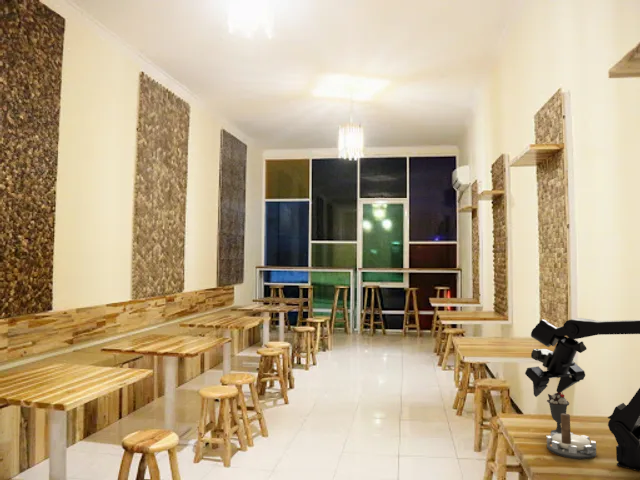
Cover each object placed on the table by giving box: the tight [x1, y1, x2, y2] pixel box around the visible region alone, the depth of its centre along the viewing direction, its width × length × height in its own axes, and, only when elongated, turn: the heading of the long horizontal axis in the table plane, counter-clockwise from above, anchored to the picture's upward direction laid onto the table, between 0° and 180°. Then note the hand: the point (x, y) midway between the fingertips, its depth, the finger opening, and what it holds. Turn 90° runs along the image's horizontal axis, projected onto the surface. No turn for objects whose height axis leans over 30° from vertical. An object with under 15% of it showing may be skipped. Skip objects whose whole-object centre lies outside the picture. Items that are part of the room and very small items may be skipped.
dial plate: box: [546, 432, 597, 460], centre depth 144 cm, size 13×13×3 cm
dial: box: [552, 413, 591, 451], centre depth 144 cm, size 10×10×10 cm
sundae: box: [546, 391, 570, 434], centre depth 159 cm, size 7×7×15 cm
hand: (546, 394), depth 154 cm, fingers open, 9 cm apart
